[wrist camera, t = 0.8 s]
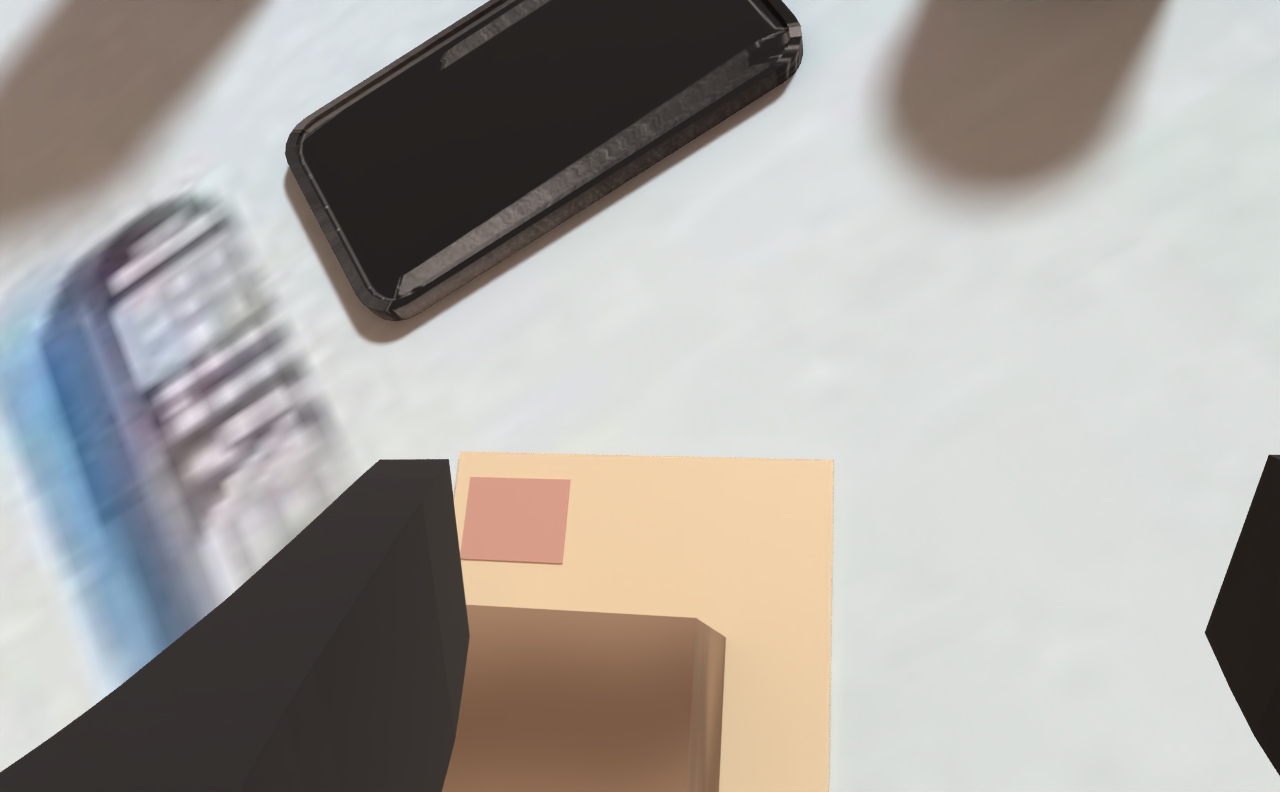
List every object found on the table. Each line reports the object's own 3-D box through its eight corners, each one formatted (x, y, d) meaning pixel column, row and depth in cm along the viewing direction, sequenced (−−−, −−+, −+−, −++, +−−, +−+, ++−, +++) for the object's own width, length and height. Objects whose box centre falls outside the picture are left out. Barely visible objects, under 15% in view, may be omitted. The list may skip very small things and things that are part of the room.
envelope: (824, 1108, 21) (824, 1112, 20) (385, 1038, 23) (381, 1040, 23) (833, 461, 25) (833, 459, 25) (462, 453, 27) (459, 451, 27)
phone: (818, 42, 28) (372, 325, 28) (819, 67, 29) (389, 339, 29) (676, -122, 31) (272, 134, 31) (682, -94, 32) (291, 153, 32)
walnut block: (715, 862, 22) (680, 901, 18) (507, 839, 23) (421, 870, 19) (726, 637, 24) (696, 617, 19) (529, 625, 25) (455, 603, 20)
